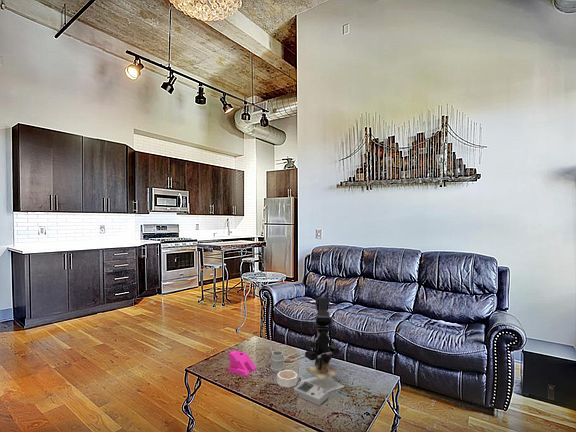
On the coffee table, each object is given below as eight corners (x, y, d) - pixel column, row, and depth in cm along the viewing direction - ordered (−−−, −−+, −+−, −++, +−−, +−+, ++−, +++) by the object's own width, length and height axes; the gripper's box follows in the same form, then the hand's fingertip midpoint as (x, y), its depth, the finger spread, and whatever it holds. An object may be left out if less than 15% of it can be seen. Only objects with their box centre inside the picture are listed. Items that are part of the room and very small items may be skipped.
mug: (277, 375, 178) (277, 353, 178) (262, 368, 186) (263, 347, 186) (287, 370, 183) (287, 349, 183) (272, 363, 191) (272, 343, 191)
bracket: (228, 371, 180) (228, 353, 181) (239, 364, 190) (239, 347, 190) (246, 377, 175) (246, 357, 175) (256, 369, 184) (256, 351, 184)
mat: (324, 374, 179) (324, 373, 179) (344, 387, 165) (344, 386, 165) (300, 381, 171) (300, 380, 171) (318, 396, 157) (318, 394, 157)
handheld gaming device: (319, 407, 148) (318, 399, 148) (293, 395, 157) (293, 387, 157) (329, 397, 155) (329, 390, 155) (304, 387, 164) (304, 379, 164)
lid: (324, 364, 176) (324, 355, 176) (338, 373, 166) (339, 364, 166) (306, 369, 170) (306, 360, 170) (320, 379, 160) (320, 369, 160)
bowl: (290, 376, 176) (290, 368, 176) (300, 385, 167) (300, 376, 167) (274, 381, 170) (274, 372, 171) (283, 390, 162) (284, 381, 162)
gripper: (327, 331, 180) (326, 359, 180) (299, 336, 170) (298, 366, 170) (340, 337, 170) (340, 367, 170) (311, 343, 161) (311, 375, 161)
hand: (322, 369), depth 168 cm, fingers closed on lid, 3 cm apart
